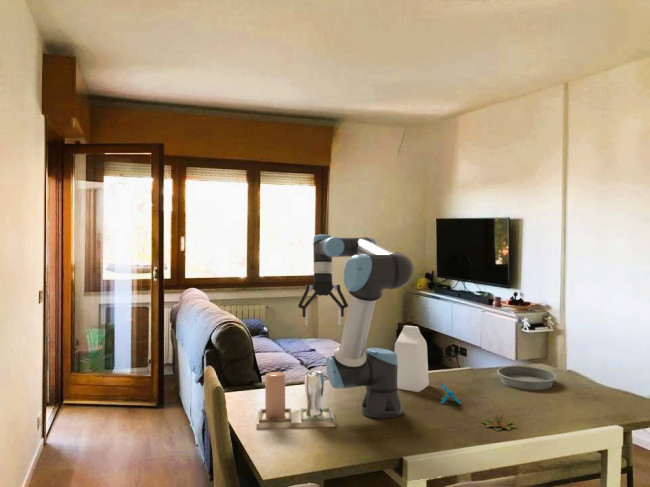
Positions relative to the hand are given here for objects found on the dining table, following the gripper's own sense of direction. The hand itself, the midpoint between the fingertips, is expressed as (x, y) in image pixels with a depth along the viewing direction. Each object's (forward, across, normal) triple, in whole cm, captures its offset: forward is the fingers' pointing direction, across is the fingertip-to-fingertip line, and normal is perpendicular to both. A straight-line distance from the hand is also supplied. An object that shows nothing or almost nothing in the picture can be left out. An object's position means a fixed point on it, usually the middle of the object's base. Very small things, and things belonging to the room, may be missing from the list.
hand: (323, 325), depth 219 cm
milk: (+28, -39, -13) cm, 49 cm away
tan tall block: (+30, +19, +24) cm, 43 cm away
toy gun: (+30, -49, +10) cm, 58 cm away
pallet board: (+32, +12, +24) cm, 42 cm away
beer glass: (+30, +5, +24) cm, 39 cm away
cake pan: (+28, -91, -14) cm, 96 cm away
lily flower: (+33, -58, +34) cm, 75 cm away
